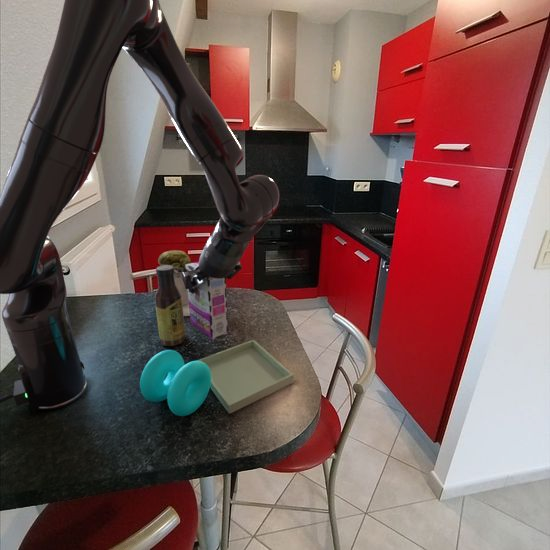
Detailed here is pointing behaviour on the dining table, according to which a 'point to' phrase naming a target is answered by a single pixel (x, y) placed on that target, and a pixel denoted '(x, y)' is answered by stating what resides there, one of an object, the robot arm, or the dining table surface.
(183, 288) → the green-topped white figurine
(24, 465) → the dining table surface
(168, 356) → the turquoise spool
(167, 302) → the sauce bottle
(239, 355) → the tray
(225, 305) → the candy bar box
